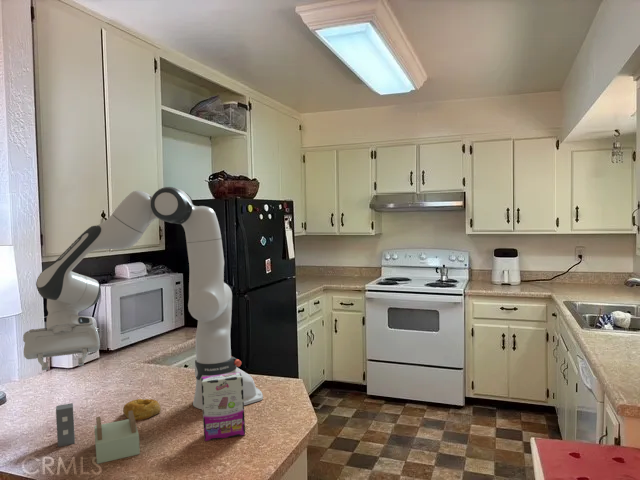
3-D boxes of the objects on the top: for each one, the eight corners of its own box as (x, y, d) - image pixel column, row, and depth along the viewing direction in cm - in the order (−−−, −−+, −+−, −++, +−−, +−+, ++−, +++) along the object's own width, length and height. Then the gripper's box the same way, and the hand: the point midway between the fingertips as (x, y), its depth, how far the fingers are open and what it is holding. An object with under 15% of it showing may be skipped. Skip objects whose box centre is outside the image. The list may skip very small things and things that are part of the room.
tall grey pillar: (74, 438, 134) (72, 403, 133) (74, 443, 130) (72, 407, 130) (58, 441, 132) (56, 405, 131) (57, 447, 129) (55, 410, 128)
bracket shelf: (134, 435, 134) (133, 407, 134) (139, 454, 124) (138, 423, 123) (95, 444, 130) (93, 414, 129) (96, 463, 119) (95, 432, 119)
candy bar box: (243, 428, 137) (241, 371, 137) (245, 435, 133) (243, 376, 132) (202, 434, 134) (200, 375, 133) (203, 441, 129) (201, 381, 129)
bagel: (159, 419, 145) (158, 403, 145) (120, 423, 143) (119, 407, 143) (162, 407, 155) (162, 392, 155) (126, 411, 153) (125, 396, 153)
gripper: (22, 324, 143) (20, 366, 135) (98, 317, 152) (101, 357, 144) (24, 335, 147) (22, 377, 139) (98, 328, 156) (100, 367, 148)
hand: (63, 367), depth 141 cm, fingers open, 8 cm apart
